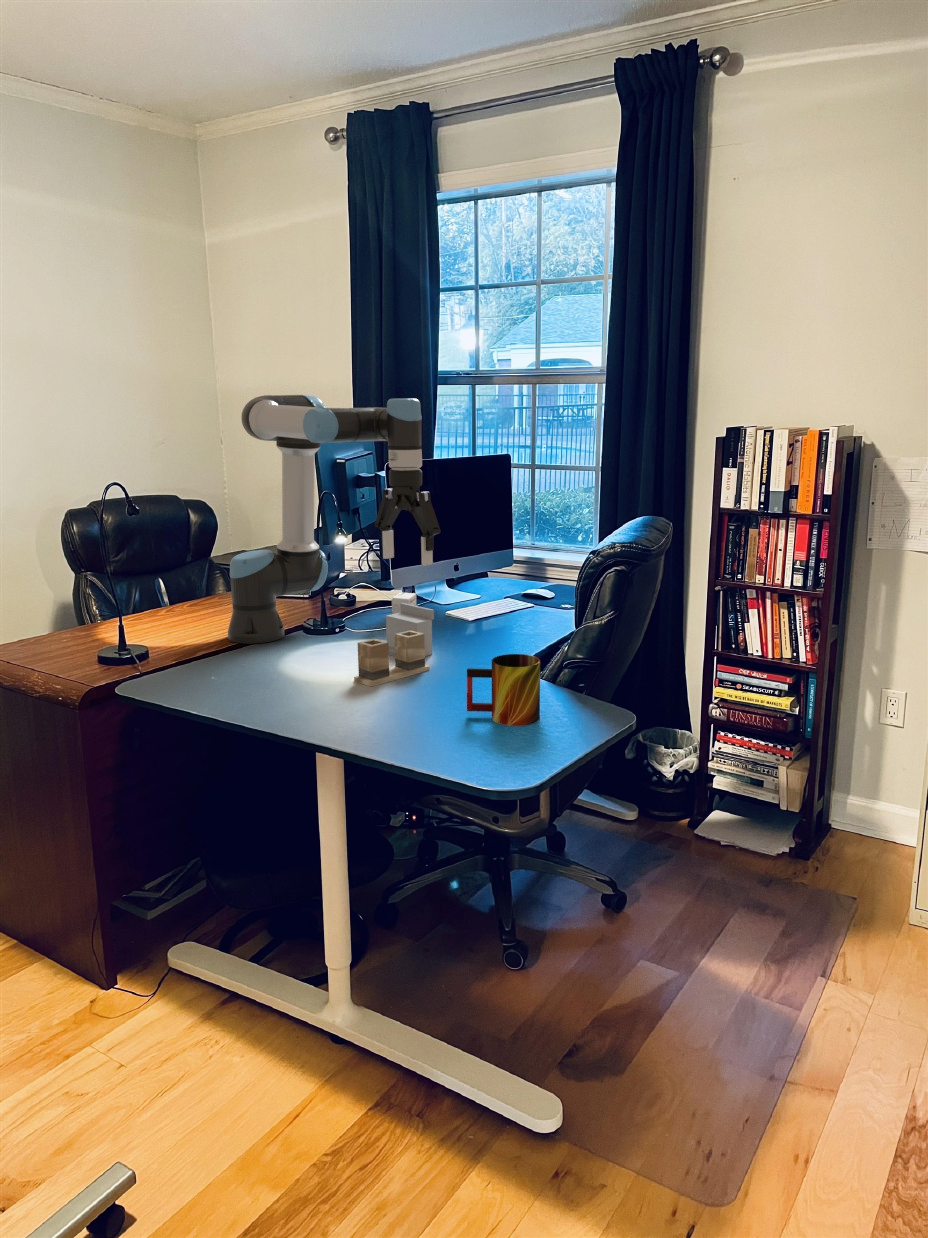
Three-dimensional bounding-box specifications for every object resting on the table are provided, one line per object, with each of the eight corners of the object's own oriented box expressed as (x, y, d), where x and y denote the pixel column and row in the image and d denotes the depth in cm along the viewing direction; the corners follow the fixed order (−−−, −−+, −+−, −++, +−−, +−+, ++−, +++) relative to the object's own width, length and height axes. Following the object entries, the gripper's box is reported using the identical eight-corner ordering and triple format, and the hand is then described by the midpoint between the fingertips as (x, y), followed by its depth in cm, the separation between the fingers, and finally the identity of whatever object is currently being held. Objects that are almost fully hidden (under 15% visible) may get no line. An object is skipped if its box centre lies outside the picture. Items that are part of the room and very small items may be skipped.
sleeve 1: (358, 676, 206) (357, 642, 204) (375, 671, 209) (374, 638, 207) (372, 680, 202) (371, 646, 200) (389, 676, 206) (388, 642, 204)
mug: (465, 715, 182) (465, 658, 179) (528, 707, 186) (529, 652, 184) (481, 731, 173) (480, 671, 171) (547, 722, 177) (547, 664, 175)
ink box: (410, 641, 240) (409, 598, 237) (392, 641, 241) (390, 598, 238) (418, 634, 248) (417, 592, 245) (400, 633, 249) (399, 591, 246)
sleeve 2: (395, 666, 213) (394, 634, 211) (411, 662, 217) (410, 630, 215) (409, 670, 210) (408, 637, 208) (425, 666, 213) (424, 633, 211)
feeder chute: (377, 651, 230) (376, 608, 228) (403, 645, 236) (402, 602, 234) (408, 660, 222) (407, 615, 219) (434, 653, 228) (433, 609, 225)
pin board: (354, 681, 206) (353, 655, 204) (413, 665, 218) (412, 641, 217) (370, 686, 201) (369, 660, 200) (429, 670, 214) (429, 645, 212)
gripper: (358, 467, 209) (361, 557, 214) (430, 472, 191) (431, 570, 196) (383, 465, 214) (385, 553, 219) (455, 470, 196) (456, 565, 201)
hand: (407, 561), depth 208 cm, fingers open, 13 cm apart
